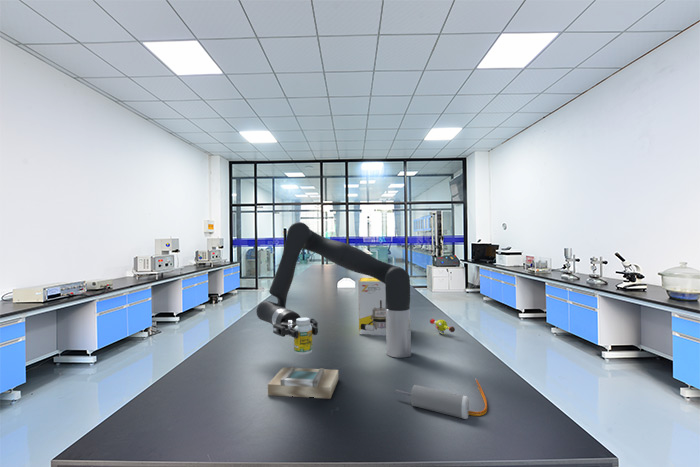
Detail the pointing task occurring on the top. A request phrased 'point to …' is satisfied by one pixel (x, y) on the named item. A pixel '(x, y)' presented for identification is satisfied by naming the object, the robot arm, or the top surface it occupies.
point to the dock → (304, 383)
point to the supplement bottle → (303, 336)
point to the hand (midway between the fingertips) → (306, 333)
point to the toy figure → (442, 326)
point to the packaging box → (372, 306)
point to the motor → (443, 401)
